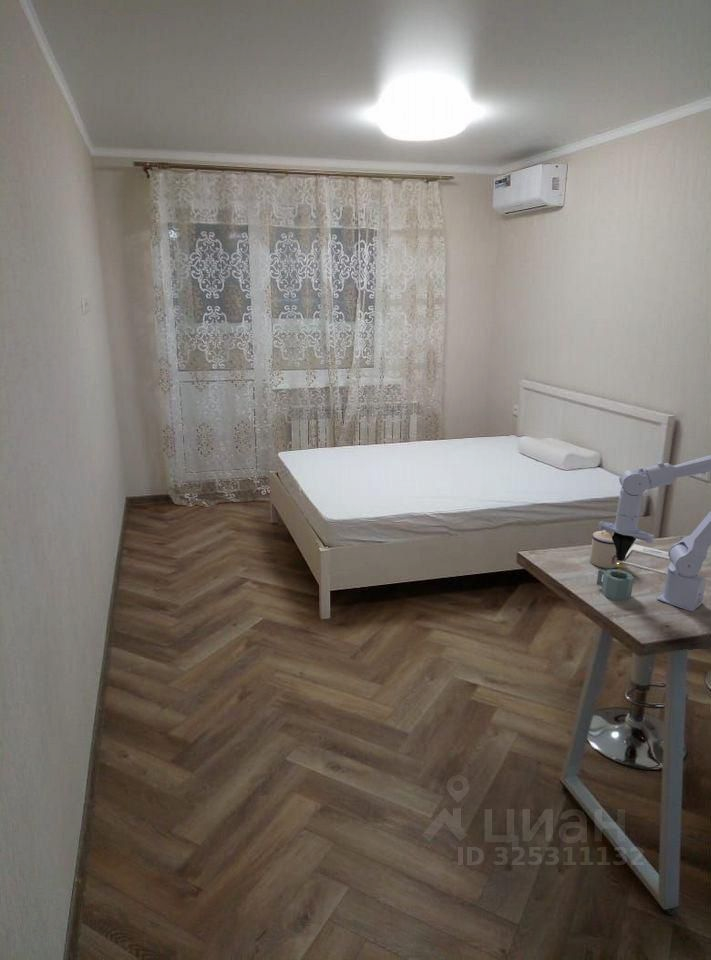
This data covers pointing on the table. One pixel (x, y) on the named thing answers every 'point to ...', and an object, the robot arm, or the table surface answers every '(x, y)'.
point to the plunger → (619, 565)
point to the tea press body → (615, 584)
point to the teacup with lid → (603, 550)
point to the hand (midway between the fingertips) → (620, 559)
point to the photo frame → (649, 552)
